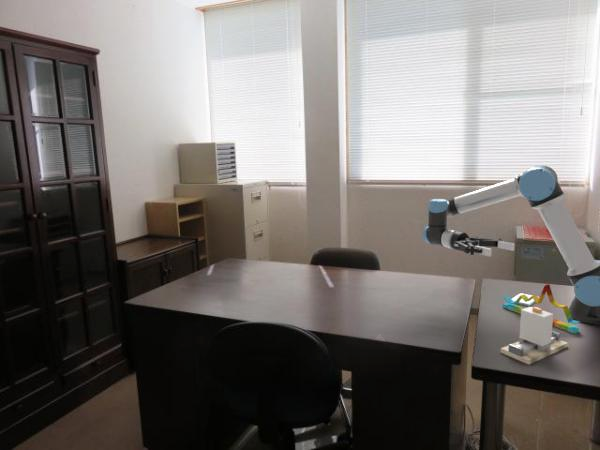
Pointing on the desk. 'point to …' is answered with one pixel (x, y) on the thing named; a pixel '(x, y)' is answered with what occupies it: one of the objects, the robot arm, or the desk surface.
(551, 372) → the desk surface
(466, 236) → the robot arm
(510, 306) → the chart
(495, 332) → the desk surface
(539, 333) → the breaker module
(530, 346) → the steel rail
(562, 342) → the rail board
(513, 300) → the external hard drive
